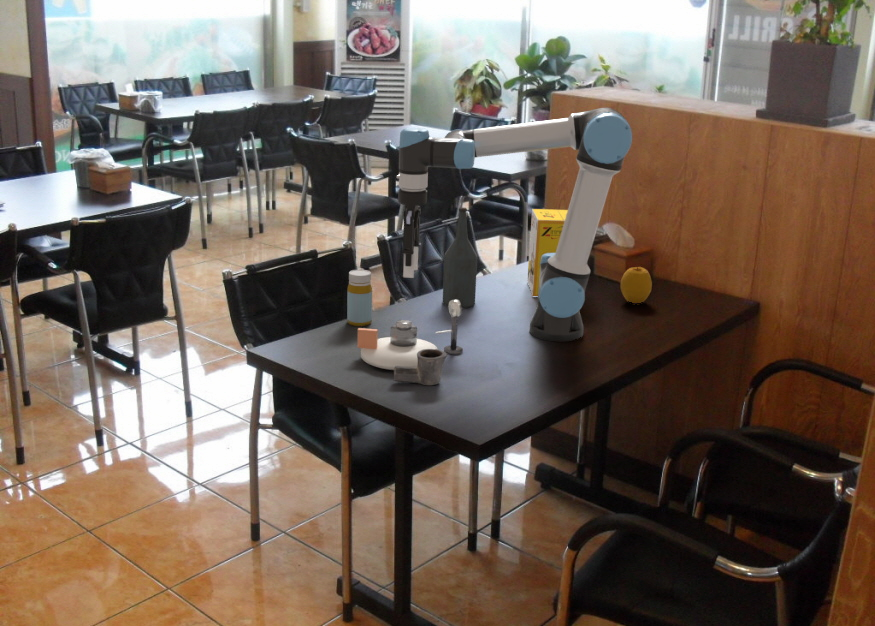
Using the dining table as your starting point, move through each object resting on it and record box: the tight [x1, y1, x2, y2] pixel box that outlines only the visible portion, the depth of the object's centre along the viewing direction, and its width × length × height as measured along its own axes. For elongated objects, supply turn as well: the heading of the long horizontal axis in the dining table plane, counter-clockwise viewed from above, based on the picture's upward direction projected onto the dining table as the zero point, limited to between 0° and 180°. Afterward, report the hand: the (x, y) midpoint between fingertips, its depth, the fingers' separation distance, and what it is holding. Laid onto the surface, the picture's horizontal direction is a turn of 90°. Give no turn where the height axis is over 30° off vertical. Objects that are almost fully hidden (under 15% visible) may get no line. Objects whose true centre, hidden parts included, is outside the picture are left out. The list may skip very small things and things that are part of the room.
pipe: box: [393, 349, 448, 386], centre depth 236 cm, size 6×13×8 cm, turn 95°
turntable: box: [357, 327, 439, 371], centre depth 250 cm, size 21×20×6 cm
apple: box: [620, 266, 653, 304], centre depth 303 cm, size 10×10×12 cm
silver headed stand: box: [435, 300, 464, 356], centre depth 256 cm, size 8×5×14 cm, turn 118°
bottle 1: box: [346, 269, 373, 327], centre depth 276 cm, size 7×7×15 cm
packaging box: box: [526, 208, 568, 297], centre depth 310 cm, size 16×16×25 cm
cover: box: [389, 319, 418, 347], centre depth 256 cm, size 7×7×6 cm
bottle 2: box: [442, 207, 478, 310], centre depth 293 cm, size 10×10×30 cm
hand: (410, 273), depth 260 cm, fingers open, 6 cm apart
